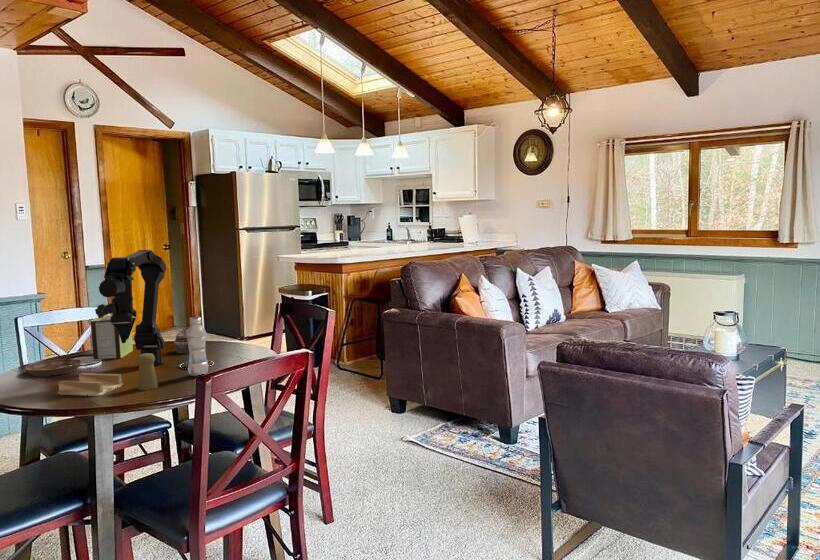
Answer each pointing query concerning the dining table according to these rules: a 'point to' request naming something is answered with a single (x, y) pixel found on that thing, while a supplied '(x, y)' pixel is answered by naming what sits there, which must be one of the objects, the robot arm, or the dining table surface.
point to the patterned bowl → (188, 361)
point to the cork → (146, 372)
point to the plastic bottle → (196, 347)
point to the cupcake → (182, 341)
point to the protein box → (108, 340)
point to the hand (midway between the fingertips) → (125, 341)
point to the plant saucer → (41, 370)
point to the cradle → (90, 384)
